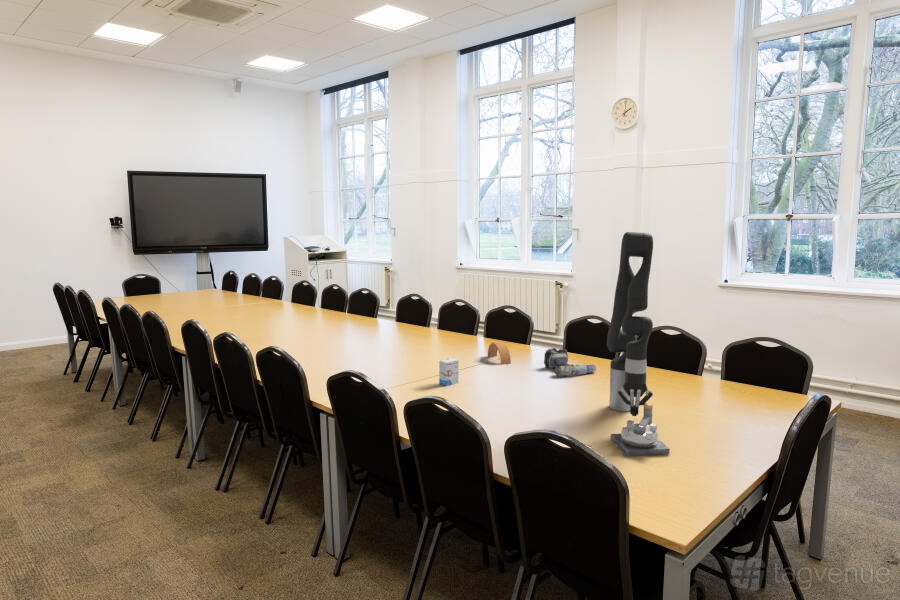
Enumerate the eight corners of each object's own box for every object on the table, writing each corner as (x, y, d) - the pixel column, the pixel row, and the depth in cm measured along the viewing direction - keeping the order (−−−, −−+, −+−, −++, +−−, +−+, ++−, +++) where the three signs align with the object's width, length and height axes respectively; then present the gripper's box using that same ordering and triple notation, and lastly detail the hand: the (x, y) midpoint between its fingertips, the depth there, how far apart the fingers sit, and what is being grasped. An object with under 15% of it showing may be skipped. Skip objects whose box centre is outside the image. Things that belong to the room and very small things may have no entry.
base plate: (610, 439, 208) (610, 433, 208) (651, 437, 209) (651, 432, 209) (625, 456, 193) (625, 450, 193) (669, 454, 194) (669, 448, 194)
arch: (500, 364, 315) (500, 346, 313) (487, 356, 334) (487, 339, 332) (510, 363, 317) (510, 346, 315) (496, 355, 336) (496, 338, 334)
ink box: (445, 386, 276) (445, 362, 274) (439, 384, 279) (438, 360, 278) (459, 383, 281) (458, 359, 280) (452, 380, 285) (451, 357, 283)
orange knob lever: (631, 422, 218) (632, 400, 217) (665, 427, 212) (666, 405, 211) (617, 443, 198) (618, 419, 197) (654, 449, 193) (654, 425, 191)
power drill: (537, 368, 306) (537, 348, 305) (573, 364, 315) (573, 344, 313) (560, 379, 286) (560, 357, 284) (598, 374, 294) (598, 353, 293)
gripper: (617, 371, 210) (616, 417, 213) (655, 373, 207) (654, 420, 210) (616, 366, 217) (615, 411, 220) (653, 368, 214) (651, 413, 217)
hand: (634, 415), depth 215 cm, fingers closed
